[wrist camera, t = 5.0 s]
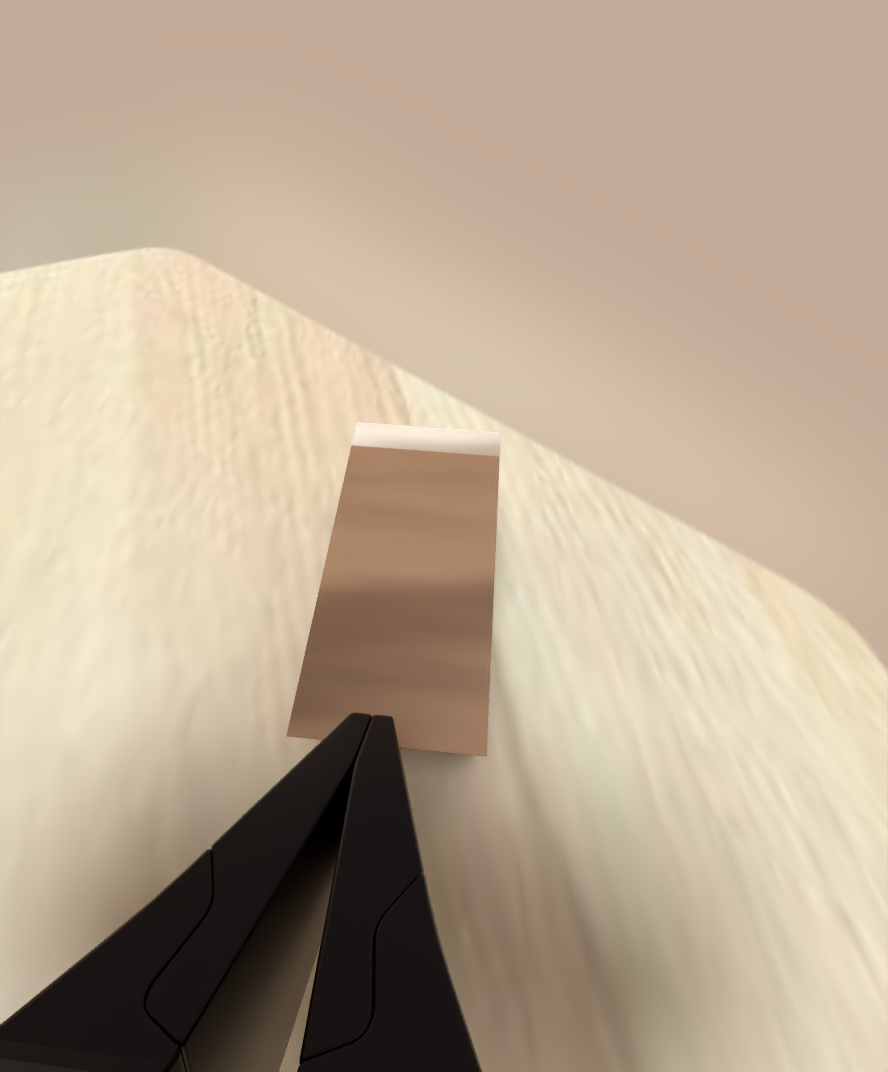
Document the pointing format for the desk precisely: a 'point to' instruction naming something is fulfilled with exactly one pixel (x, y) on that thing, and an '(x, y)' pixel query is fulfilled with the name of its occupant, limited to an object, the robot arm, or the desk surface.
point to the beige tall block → (407, 591)
